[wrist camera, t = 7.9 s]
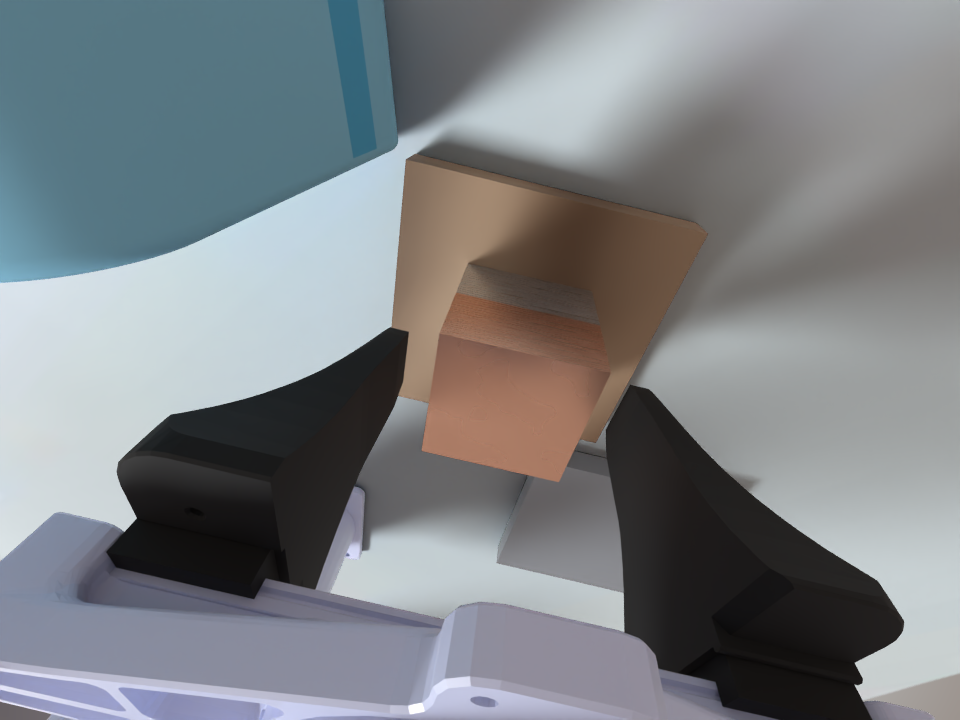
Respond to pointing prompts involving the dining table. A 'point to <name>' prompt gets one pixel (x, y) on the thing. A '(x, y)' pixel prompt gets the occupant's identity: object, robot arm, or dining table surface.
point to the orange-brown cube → (515, 373)
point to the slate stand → (567, 526)
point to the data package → (175, 120)
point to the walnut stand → (533, 261)
